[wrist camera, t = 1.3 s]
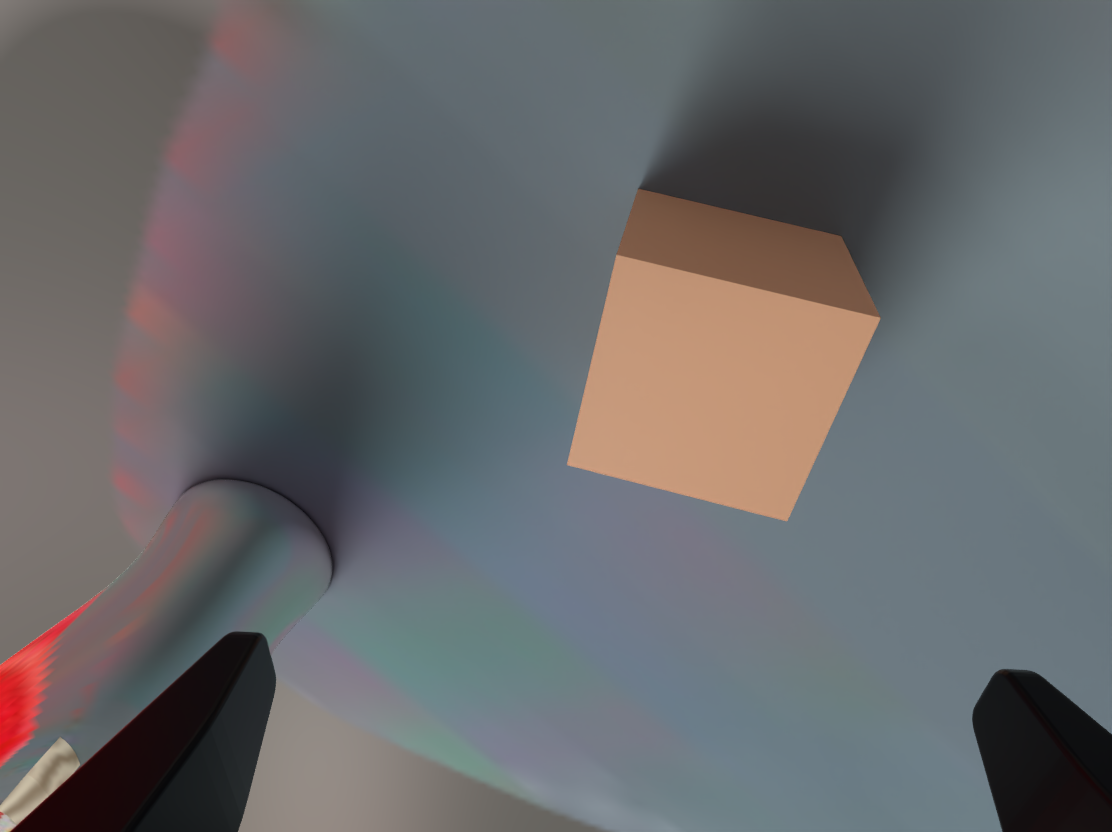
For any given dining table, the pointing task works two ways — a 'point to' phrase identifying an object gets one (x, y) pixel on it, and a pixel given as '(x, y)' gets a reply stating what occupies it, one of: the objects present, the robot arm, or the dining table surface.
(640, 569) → the dining table surface
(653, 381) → the terracotta cube
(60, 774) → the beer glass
